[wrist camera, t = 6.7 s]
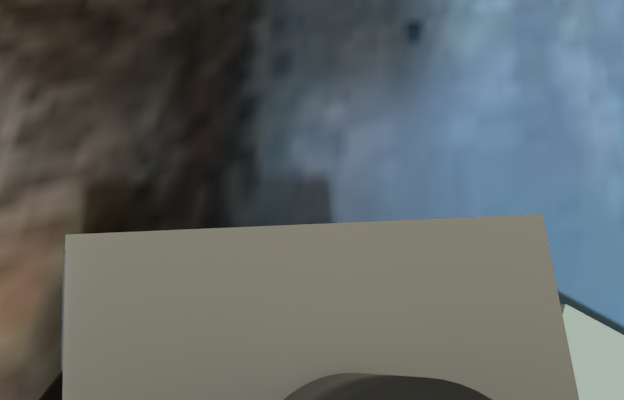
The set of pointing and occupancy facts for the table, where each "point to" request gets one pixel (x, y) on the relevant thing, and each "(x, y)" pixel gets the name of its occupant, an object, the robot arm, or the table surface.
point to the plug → (317, 313)
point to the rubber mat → (594, 356)
